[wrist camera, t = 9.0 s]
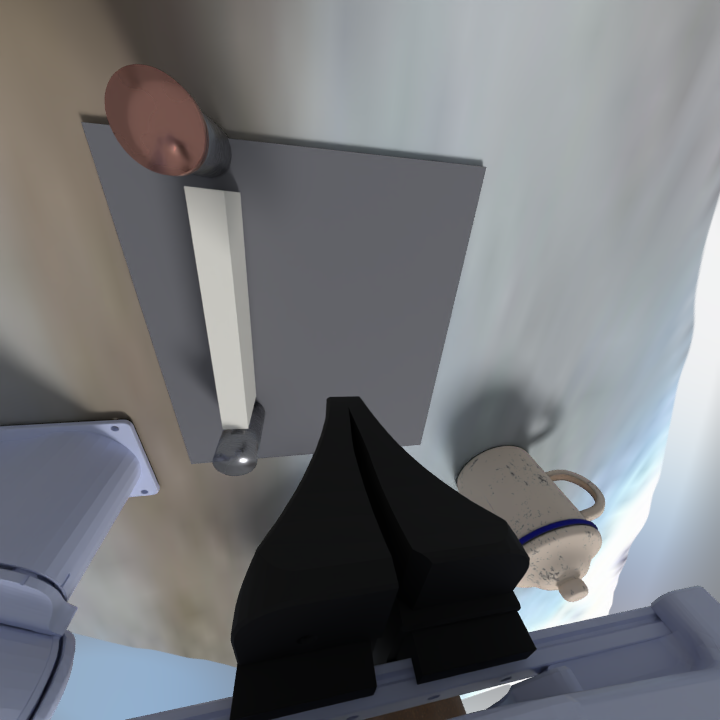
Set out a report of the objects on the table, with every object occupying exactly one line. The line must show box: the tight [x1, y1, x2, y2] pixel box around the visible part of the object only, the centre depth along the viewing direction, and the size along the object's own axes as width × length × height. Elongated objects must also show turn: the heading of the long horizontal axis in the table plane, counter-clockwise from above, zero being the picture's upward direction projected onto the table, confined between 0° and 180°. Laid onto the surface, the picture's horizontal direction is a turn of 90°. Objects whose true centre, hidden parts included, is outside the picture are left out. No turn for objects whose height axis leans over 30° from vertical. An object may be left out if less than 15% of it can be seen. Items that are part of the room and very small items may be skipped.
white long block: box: [184, 186, 256, 429], centre depth 16 cm, size 13×2×4 cm, turn 173°
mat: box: [81, 122, 486, 464], centre depth 20 cm, size 20×22×1 cm
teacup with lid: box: [457, 446, 605, 602], centre depth 27 cm, size 12×9×12 cm
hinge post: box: [212, 401, 265, 476], centre depth 20 cm, size 3×3×5 cm
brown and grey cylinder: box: [105, 64, 232, 178], centre depth 12 cm, size 3×3×6 cm
